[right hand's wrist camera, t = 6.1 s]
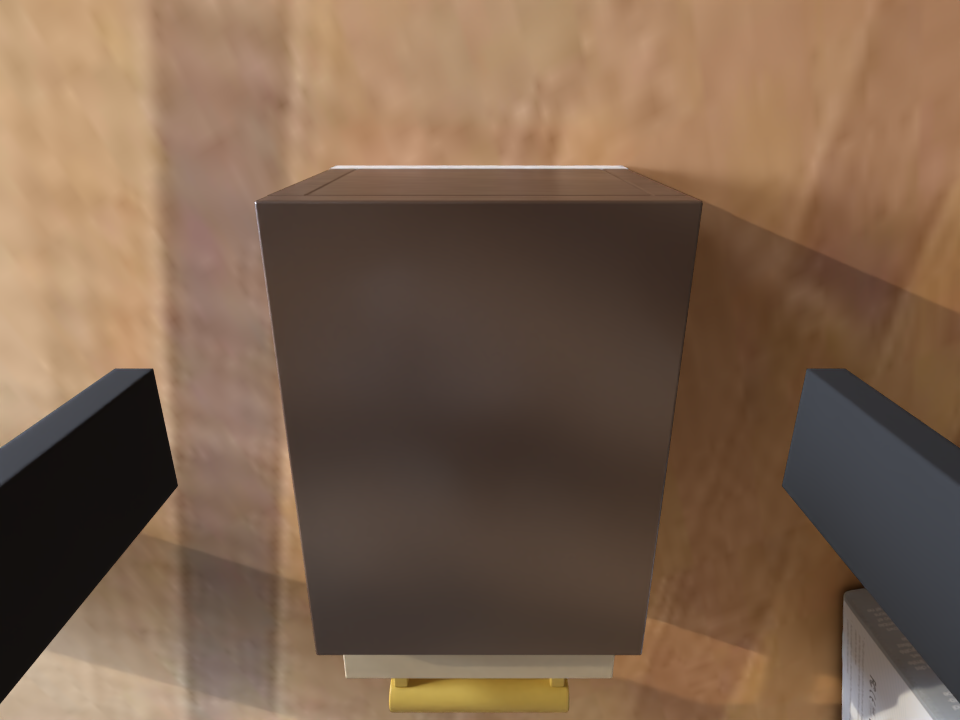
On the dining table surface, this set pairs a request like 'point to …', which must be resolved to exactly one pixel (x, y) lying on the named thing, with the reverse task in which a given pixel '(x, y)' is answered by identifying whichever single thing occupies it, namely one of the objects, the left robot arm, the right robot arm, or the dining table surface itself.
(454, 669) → the drawer
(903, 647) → the hard drive box
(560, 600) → the cabinet
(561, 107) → the dining table surface
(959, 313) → the dining table surface
